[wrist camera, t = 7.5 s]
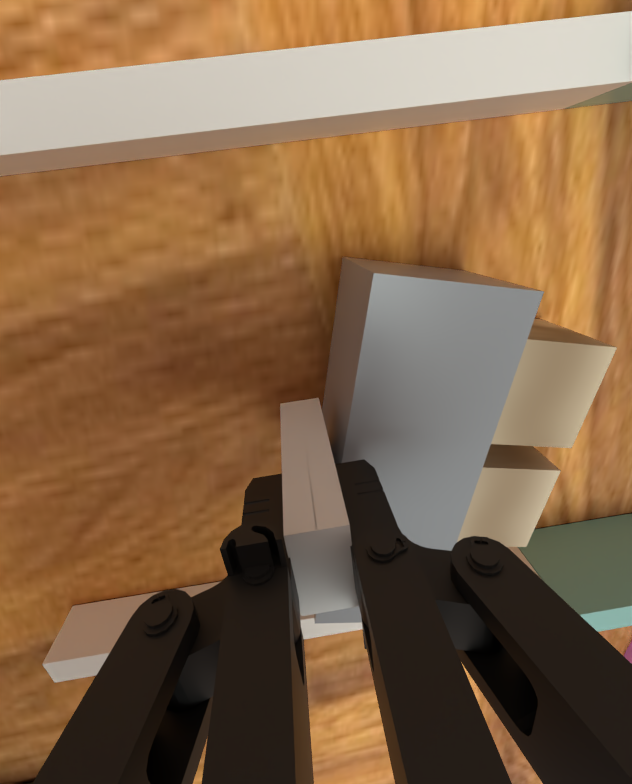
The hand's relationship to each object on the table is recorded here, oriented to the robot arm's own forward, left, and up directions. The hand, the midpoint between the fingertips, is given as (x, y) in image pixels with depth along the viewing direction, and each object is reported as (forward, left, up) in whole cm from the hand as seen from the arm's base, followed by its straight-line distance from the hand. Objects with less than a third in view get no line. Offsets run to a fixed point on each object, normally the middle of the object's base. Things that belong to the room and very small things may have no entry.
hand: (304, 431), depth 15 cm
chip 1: (+8, +1, -3) cm, 9 cm away
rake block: (+3, -1, -3) cm, 4 cm away
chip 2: (+7, -4, -3) cm, 9 cm away
